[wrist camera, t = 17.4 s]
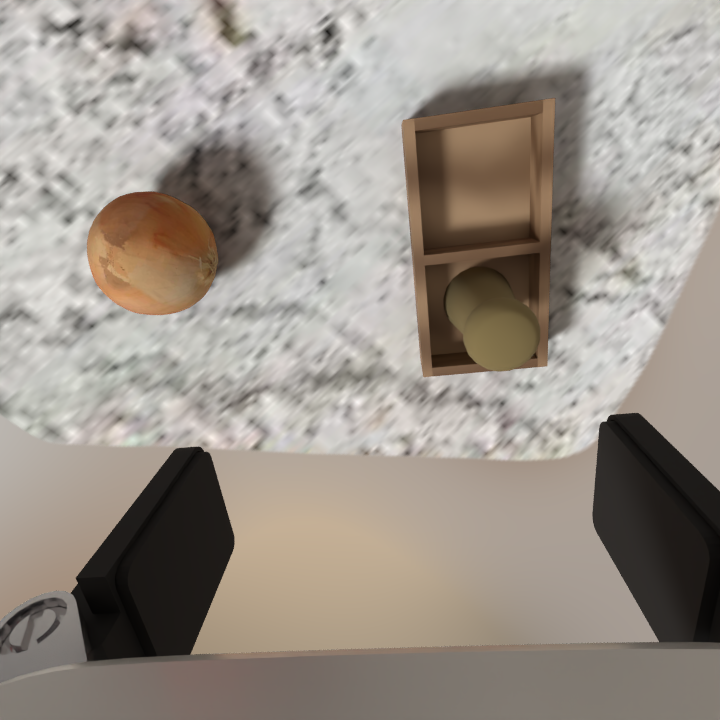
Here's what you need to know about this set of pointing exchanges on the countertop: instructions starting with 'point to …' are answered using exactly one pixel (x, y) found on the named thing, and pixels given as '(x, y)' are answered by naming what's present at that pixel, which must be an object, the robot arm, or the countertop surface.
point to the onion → (152, 253)
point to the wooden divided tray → (479, 216)
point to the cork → (491, 319)
